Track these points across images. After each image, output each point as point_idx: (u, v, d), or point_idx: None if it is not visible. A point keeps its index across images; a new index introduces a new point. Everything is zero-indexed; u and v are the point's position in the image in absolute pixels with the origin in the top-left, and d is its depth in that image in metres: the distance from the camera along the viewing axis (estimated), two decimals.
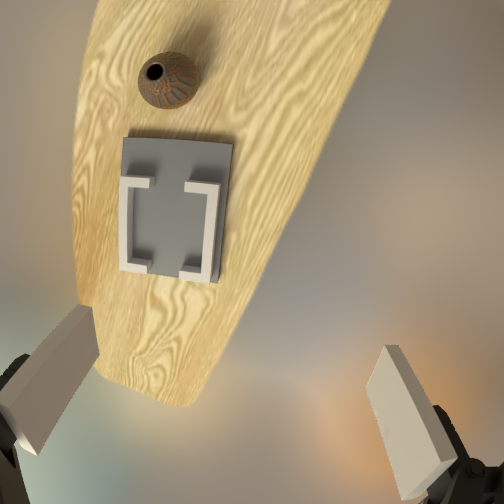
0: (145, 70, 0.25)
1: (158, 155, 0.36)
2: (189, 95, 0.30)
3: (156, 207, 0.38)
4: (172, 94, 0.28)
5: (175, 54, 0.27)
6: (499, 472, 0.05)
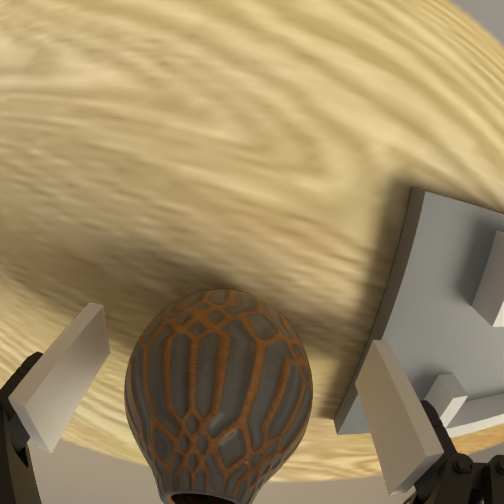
0: None
1: None
2: (283, 343, 0.09)
3: (485, 364, 0.14)
4: (287, 423, 0.08)
5: (129, 400, 0.08)
6: (487, 469, 0.06)
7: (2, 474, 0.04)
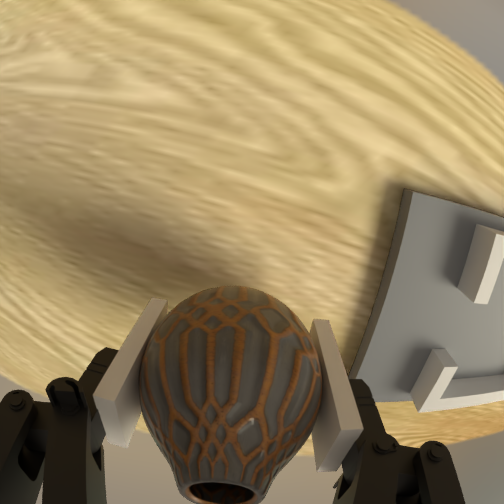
0: None
1: (400, 344, 0.17)
2: (295, 336, 0.10)
3: (475, 344, 0.17)
4: (300, 412, 0.08)
5: (145, 394, 0.09)
6: (418, 458, 0.07)
7: (76, 478, 0.05)
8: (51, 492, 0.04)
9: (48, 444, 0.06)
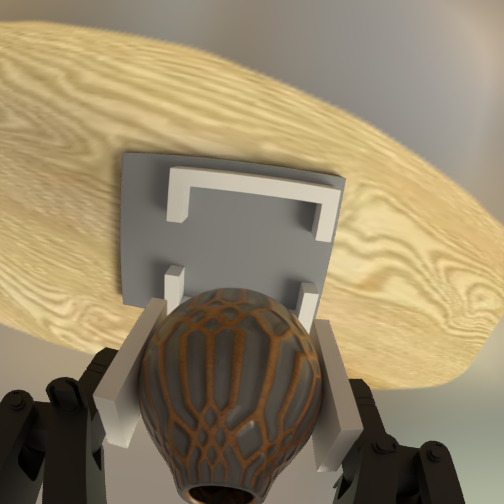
0: None
1: (142, 258, 0.26)
2: (295, 338, 0.10)
3: (216, 266, 0.26)
4: (300, 415, 0.08)
5: (144, 397, 0.09)
6: (418, 458, 0.07)
7: (76, 478, 0.05)
8: (51, 492, 0.04)
9: (48, 444, 0.06)
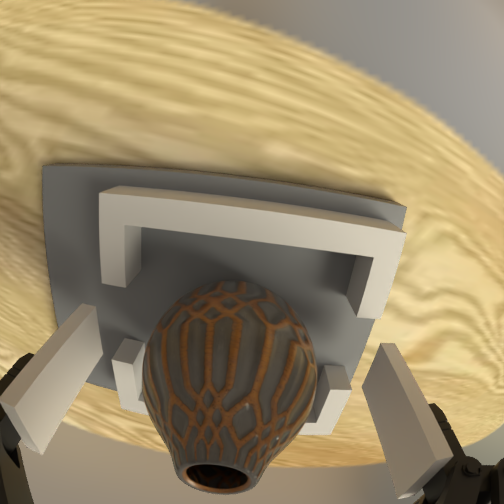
0: (210, 491, 0.07)
1: None
2: (290, 328, 0.10)
3: None
4: (294, 400, 0.09)
5: (147, 381, 0.09)
6: (495, 471, 0.05)
7: None
8: None
9: None
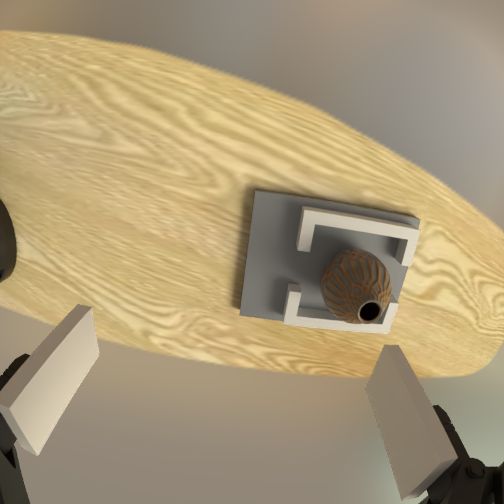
0: (365, 322, 0.24)
1: (264, 277, 0.33)
2: (382, 263, 0.27)
3: None
4: (388, 286, 0.26)
5: (337, 283, 0.26)
6: (499, 472, 0.05)
7: None
8: None
9: None
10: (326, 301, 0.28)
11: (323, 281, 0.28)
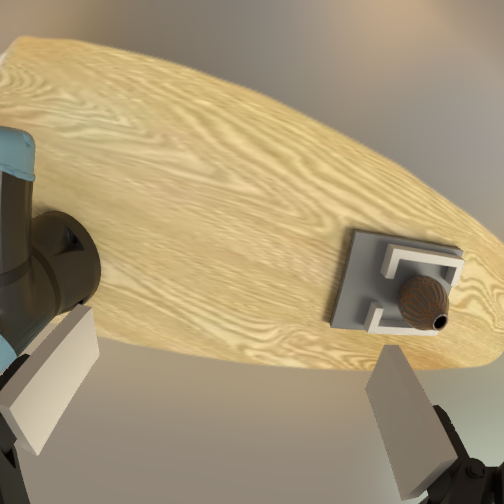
0: (436, 329, 0.32)
1: (354, 297, 0.40)
2: None
3: (396, 300, 0.40)
4: (448, 303, 0.33)
5: (417, 303, 0.33)
6: (499, 472, 0.05)
7: None
8: None
9: None
10: (406, 315, 0.35)
11: (404, 300, 0.36)
